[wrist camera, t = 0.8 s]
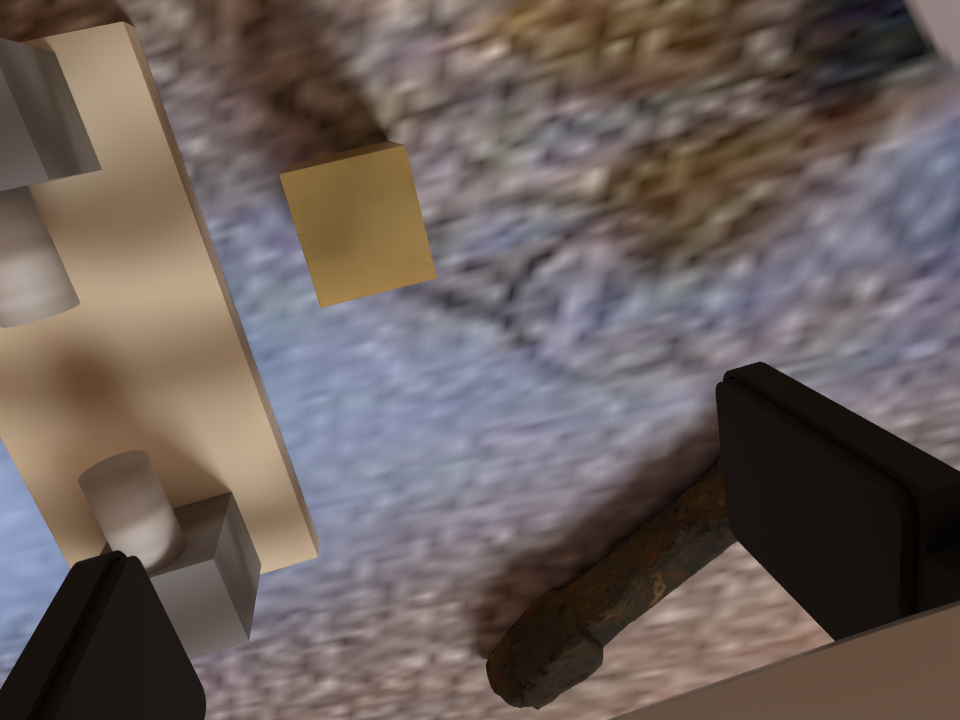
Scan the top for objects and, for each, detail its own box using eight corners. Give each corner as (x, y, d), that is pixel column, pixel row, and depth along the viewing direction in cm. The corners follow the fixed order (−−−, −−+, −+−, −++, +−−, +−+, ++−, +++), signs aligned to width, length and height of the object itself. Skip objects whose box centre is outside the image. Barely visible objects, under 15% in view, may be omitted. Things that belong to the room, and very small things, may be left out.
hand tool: (737, 422, 36) (791, 461, 32) (768, 472, 38) (823, 516, 33) (455, 629, 37) (470, 695, 33) (496, 670, 38) (516, 739, 34)
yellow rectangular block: (291, 162, 27) (278, 174, 21) (387, 140, 28) (404, 144, 21) (323, 267, 29) (320, 307, 22) (413, 244, 29) (436, 277, 23)
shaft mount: (-157, 86, 24) (-325, 72, 18) (134, 27, 25) (71, -5, 19) (109, 601, 32) (57, 712, 26) (318, 539, 33) (315, 630, 27)
